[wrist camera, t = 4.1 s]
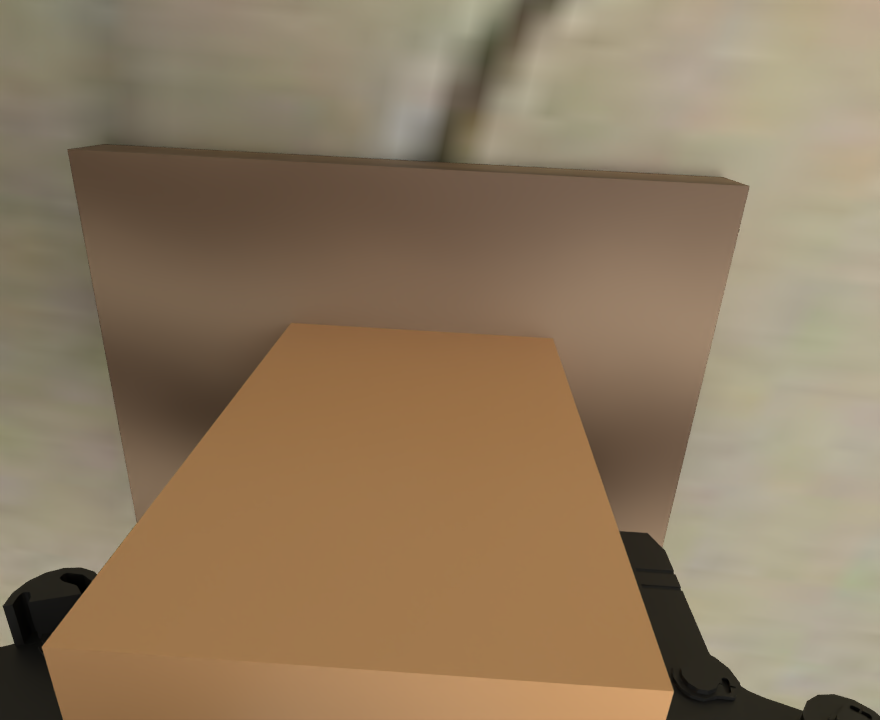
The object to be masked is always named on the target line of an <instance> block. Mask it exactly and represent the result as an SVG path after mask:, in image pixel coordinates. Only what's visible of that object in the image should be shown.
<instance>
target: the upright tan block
mask: <svg viewBox="0 0 880 720" xmlns="http://www.w3.org/2000/svg"><path fill="white" fill-rule="evenodd" d="M42 650H43V653H44V656H45V660H46V663H47V667H48V670H49V673H50V677H51V680H52V684H53V687H54V691H55V694H56V697H57V701H58V704H59V708H60V711H61V715H62V718H63V720H666V718H667V714H668V711H669V707H670V704H671V700H672V697H673V693H674V690H673V687H672V684H671V681H670V678H669V675H668V672H667V670H666V667H665V664H664V661H663V658H662V655H661V652H660V649H659V646H658V643H657V640H656V638H655V635H654V632H653V629H652V626H651V623H650V620H649V617H648V614H647V611H646V608H645V605H644V603H643V600H642V597H641V594H640V591H639V588H638V585H637V582H636V579H635V576H634V573H633V570H632V568H631V565H630V562H629V559H628V556H627V553H626V550H625V547H624V544H623V541H622V538H621V535H620V533H619V530H618V527H617V524H616V521H615V518H614V515H613V512H612V509H611V506H610V503H609V500H608V498H607V495H606V492H605V489H604V486H603V483H602V480H601V477H600V474H599V471H598V468H597V465H596V463H595V460H594V457H593V454H592V451H591V448H590V445H589V442H588V439H587V436H586V433H585V430H584V428H583V425H582V422H581V419H580V416H579V413H578V410H577V407H576V404H575V401H574V398H573V395H572V393H571V390H570V387H569V384H568V381H567V378H566V375H565V372H564V369H563V366H562V363H561V360H560V358H559V355H558V352H557V349H556V346H555V343H554V340H553V338H538V337H521V336H504V335H487V334H470V333H454V332H437V331H420V330H403V329H386V328H369V327H352V326H335V325H318V324H301V323H291V324H290V325H289V326H288V328H287V329H286V330H285V331H284V333H283V334H282V335H281V337H280V338H279V339H278V341H277V342H276V343H275V344H274V346H273V347H272V348H271V350H270V351H269V352H268V354H267V355H266V356H265V357H264V359H263V360H262V361H261V363H260V364H259V365H258V367H257V368H256V369H255V370H254V372H253V373H252V374H251V376H250V377H249V378H248V380H247V381H246V382H245V383H244V385H243V386H242V387H241V389H240V390H239V391H238V393H237V394H236V395H235V396H234V398H233V399H232V400H231V402H230V403H229V404H228V406H227V407H226V408H225V409H224V411H223V412H222V413H221V415H220V416H219V417H218V419H217V420H216V421H215V422H214V424H213V425H212V426H211V428H210V429H209V430H208V432H207V433H206V434H205V435H204V437H203V438H202V439H201V441H200V442H199V443H198V445H197V446H196V447H195V448H194V450H193V451H192V452H191V454H190V455H189V456H188V458H187V459H186V460H185V461H184V463H183V464H182V465H181V467H180V468H179V469H178V471H177V472H176V473H175V474H174V476H173V477H172V478H171V480H170V481H169V482H168V484H167V485H166V486H165V487H164V489H163V490H162V491H161V493H160V494H159V495H158V497H157V498H156V499H155V500H154V502H153V503H152V504H151V506H150V507H149V508H148V510H147V511H146V512H145V513H144V515H143V516H142V517H141V519H140V520H139V521H138V523H137V524H136V525H135V526H134V528H133V529H132V530H131V532H130V533H129V534H128V536H127V537H126V538H125V539H124V541H123V542H122V543H121V545H120V546H119V547H118V549H117V550H116V551H115V552H114V554H113V555H112V556H111V558H110V559H109V560H108V562H107V563H106V564H105V565H104V567H103V568H102V569H101V571H100V572H99V573H98V575H97V576H96V577H95V578H94V580H93V581H92V582H91V584H90V585H89V586H88V588H87V589H86V590H85V591H84V593H83V594H82V595H81V597H80V598H79V599H78V601H77V602H76V603H75V604H74V606H73V607H72V608H71V610H70V611H69V612H68V614H67V615H66V616H65V617H64V619H63V620H62V621H61V623H60V624H59V625H58V627H57V628H56V629H55V630H54V632H53V633H52V634H51V636H50V637H49V638H48V640H47V641H46V642H45V643H44V645H43V646H42Z"/></svg>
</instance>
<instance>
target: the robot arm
mask: <svg viewBox="0 0 880 720" xmlns="http://www.w3.org/2000/svg"><path fill="white" fill-rule="evenodd" d="M140 519H141V518H140ZM137 523H138V522H137ZM130 532H131V531H130ZM619 533H620V535H621V538H622V541H623V544H624V547H625V550H626V553H627V556H628V559H629V562H630V565H631V568H632V570H633V573H634V576H635V579H636V582H637V585H638V588H639V591H640V594H641V597H642V600H643V603H644V605H645V608H646V611H647V614H648V617H649V620H650V623H651V626H652V629H653V632H654V635H655V638H656V640H657V643H658V646H659V649H660V652H661V655H662V658H663V661H664V664H665V667H666V670H667V672H668V675H669V678H670V681H671V684H672V687H673V690H674V693H673V697H672V700H671V704H670V707H669V711H668V714H667V718H666V720H880V716H879V715H878V714H877V713H876V712H874V711H873V710H871V709H869V708H867V707H866V706H864V705H862V704H860V703H858V702H856V701H855V700H852V699H849V698H845V697H842V696H838V695H834V694H830V695H817V696H815V697H813V698H812V699H810V700H808V701H807V703H806V705H805V707H804V710H803V711H802V710H799V709H796V708H793V707H790V706H787V705H784V704H781V703H778V702H775V701H772V700H769V699H766V698H764V697H761V696H759V695H757V694H754V693H752V692H750V691H748V690H746V689H744V688H743V687H741V685H740V682H739V681H738V680H737V678H736V677H735V676H734V674H733V673H732V672H731V671H730V669H729V668H728V667H726V666H725V665H724V664H723V663H721V662H720V661H719V660H718V659H716V658H715V657H713V656H711V655H710V654H709V652H708V650H707V647H706V645H705V643H704V640H703V638H702V636H701V633H700V631H699V629H698V626H697V624H696V622H695V619H694V617H693V615H692V612H691V610H690V608H689V605H688V603H687V601H686V598H685V596H684V594H683V591H681V589H680V588H681V587H680V584H679V582H678V580H677V577H676V575H675V574H674V570H673V568H672V566H671V563H670V561H669V559H668V556H667V554H666V552H665V550H664V549H663V548H662V547H661V546H660V545H659V544H658V543H657V542H656V541H655V540H654V539H653V538H652V537H651V536H650V535H649V534H648V533H641V532H626V531H619ZM127 536H128V535H127ZM120 545H121V544H120ZM117 549H118V548H117ZM110 558H111V557H110ZM107 562H108V561H107ZM100 571H101V570H100ZM97 575H98V574H96V573H95V572H94V571H91V570H87V569H84V568H63V569H59V570H55V571H51V572H47V573H44V574H42V575H40V576H38V577H36V578H34V579H32V580H30V581H28V582H26V583H25V584H24V585H22V586H21V587H20V588H18V589H17V590H16V591H15V592H13V593H12V594H11V596H10V597H9V598H8V600H7V601H6V603H5V604H4V605H3V608H4V611H5V615H6V618H7V621H8V624H9V627H10V631H11V634H12V637H13V640H14V643H15V644H12V645H8V646H3V647H0V720H63V718H62V715H61V711H60V708H59V704H58V701H57V697H56V694H55V691H54V687H53V684H52V680H51V677H50V673H49V670H48V667H47V663H46V660H45V656H44V653H43V650H42V646H43V645H44V643H45V642H46V641H47V640H48V638H49V637H50V636H51V634H52V633H53V632H54V630H55V629H56V628H57V627H58V625H59V624H60V623H61V621H62V620H63V619H64V617H65V616H66V615H67V614H68V612H69V611H70V610H71V608H72V607H73V606H74V604H75V603H76V602H77V601H78V599H79V598H80V597H81V595H82V594H83V593H84V591H85V590H86V589H87V588H88V586H89V585H90V584H91V582H92V581H93V580H94V578H95V577H96V576H97Z"/></svg>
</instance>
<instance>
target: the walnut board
mask: <svg viewBox="0 0 880 720" xmlns="http://www.w3.org/2000/svg"><path fill="white" fill-rule="evenodd" d="M67 150H68V155H69V160H70V166H71V171H72V177H73V182H74V187H75V193H76V198H77V203H78V209H79V214H80V220H81V225H82V230H83V236H84V241H85V246H86V252H87V257H88V263H89V268H90V273H91V279H92V284H93V289H94V295H95V300H96V306H97V311H98V316H99V322H100V327H101V332H102V338H103V343H104V349H105V354H106V359H107V365H108V370H109V375H110V381H111V386H112V392H113V397H114V402H115V408H116V413H117V418H118V424H119V429H120V435H121V440H122V445H123V451H124V456H125V461H126V467H127V472H128V478H129V483H130V488H131V494H132V499H133V504H134V510H135V515H136V521H137V522H138V521H139V520H140V518H141V517H142V516H143V515H144V513H145V512H146V511H147V510H148V508H149V507H150V506H151V504H152V503H153V502H154V500H155V499H156V498H157V497H158V495H159V494H160V493H161V491H162V490H163V489H164V487H165V486H166V485H167V484H168V482H169V481H170V480H171V478H172V477H173V476H174V474H175V473H176V472H177V471H178V469H179V468H180V467H181V465H182V464H183V463H184V461H185V460H186V459H187V458H188V456H189V455H190V454H191V452H192V451H193V450H194V448H195V447H196V446H197V445H198V443H199V442H200V441H201V439H202V438H203V437H204V435H205V434H206V433H207V432H208V430H209V429H210V428H211V426H212V425H213V424H214V422H215V421H216V420H217V419H218V417H219V416H220V415H221V413H222V412H223V411H224V409H225V408H226V407H227V406H228V404H229V403H230V402H231V400H232V399H233V398H234V396H235V395H236V394H237V393H238V391H239V390H240V389H241V387H242V386H243V385H244V383H245V382H246V381H247V380H248V378H249V377H250V376H251V374H252V373H253V372H254V370H255V369H256V368H257V367H258V365H259V364H260V363H261V361H262V360H263V359H264V357H265V356H266V355H267V354H268V352H269V351H270V350H271V348H272V347H273V346H274V344H275V343H276V342H277V341H278V339H279V338H280V337H281V335H282V334H283V333H284V331H285V330H286V329H287V328H288V326H289V325H290V324H291V323H301V324H318V325H335V326H352V327H369V328H386V329H403V330H420V331H437V332H454V333H470V334H487V335H504V336H521V337H538V338H553V340H554V343H555V346H556V349H557V352H558V355H559V358H560V360H561V363H562V366H563V369H564V372H565V375H566V378H567V381H568V384H569V387H570V390H571V393H572V395H573V398H574V401H575V404H576V407H577V410H578V413H579V416H580V419H581V422H582V425H583V428H584V430H585V433H586V436H587V439H588V442H589V445H590V448H591V451H592V454H593V457H594V460H595V463H596V465H597V468H598V471H599V474H600V477H601V480H602V483H603V486H604V489H605V492H606V495H607V498H608V500H609V503H610V506H611V509H612V512H613V515H614V518H615V521H616V524H617V527H618V530H619V531H626V532H641V533H648V534H649V535H650V536H651V537H652V538H653V539H654V540H655V541H656V542H657V543H658V544H659V545H660V546H661V547H662V546H663V542H664V538H665V534H666V530H667V526H668V522H669V517H670V513H671V509H672V505H673V501H674V497H675V493H676V489H677V484H678V480H679V476H680V472H681V468H682V464H683V460H684V455H685V451H686V447H687V443H688V439H689V435H690V431H691V426H692V422H693V418H694V414H695V410H696V406H697V402H698V397H699V393H700V389H701V385H702V381H703V377H704V373H705V368H706V364H707V360H708V356H709V352H710V348H711V344H712V339H713V335H714V331H715V327H716V323H717V319H718V315H719V311H720V306H721V302H722V298H723V294H724V290H725V286H726V282H727V277H728V273H729V269H730V265H731V261H732V257H733V253H734V248H735V244H736V240H737V236H738V232H739V228H740V224H741V219H742V215H743V211H744V207H745V203H746V199H747V195H748V190H749V186H748V185H745V184H742V183H739V182H736V181H733V180H730V179H727V178H724V177H707V176H688V175H670V174H651V173H632V172H614V171H595V170H576V169H558V168H539V167H520V166H502V165H483V164H464V163H446V162H427V161H408V160H390V159H371V158H352V157H333V156H315V155H296V154H277V153H259V152H240V151H221V150H203V149H184V148H165V147H147V146H128V145H109V144H102V145H95V146H88V147H81V148H74V149H67Z"/></svg>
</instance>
